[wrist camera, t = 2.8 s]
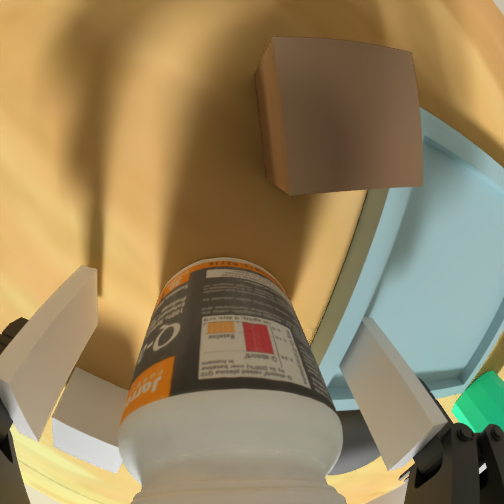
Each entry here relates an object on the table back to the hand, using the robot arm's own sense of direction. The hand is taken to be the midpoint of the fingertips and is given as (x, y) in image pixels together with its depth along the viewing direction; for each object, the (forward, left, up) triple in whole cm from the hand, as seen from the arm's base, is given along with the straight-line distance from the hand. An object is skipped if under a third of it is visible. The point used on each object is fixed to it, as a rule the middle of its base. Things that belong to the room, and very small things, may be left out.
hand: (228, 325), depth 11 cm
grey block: (-6, -8, -1) cm, 10 cm away
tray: (+12, +3, -1) cm, 12 cm away
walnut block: (+1, +9, -1) cm, 9 cm away
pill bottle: (0, 0, -1) cm, 1 cm away
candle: (+26, -7, -1) cm, 27 cm away
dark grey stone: (+10, -8, -1) cm, 13 cm away
